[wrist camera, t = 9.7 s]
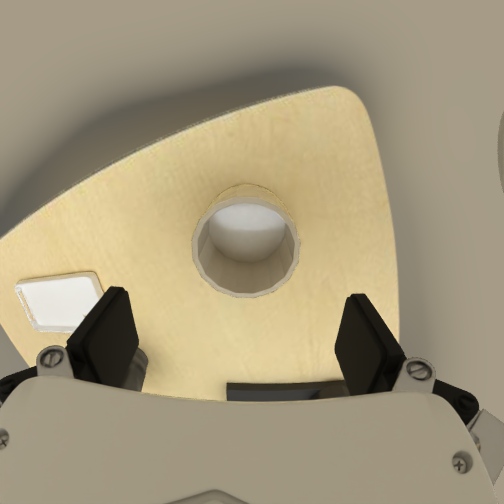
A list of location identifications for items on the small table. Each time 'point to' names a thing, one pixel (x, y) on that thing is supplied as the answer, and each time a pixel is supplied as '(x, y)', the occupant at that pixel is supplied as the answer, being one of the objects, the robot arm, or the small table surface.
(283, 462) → the robot arm
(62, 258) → the small table surface
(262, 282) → the beige cup
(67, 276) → the phone case
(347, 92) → the small table surface
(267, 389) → the scale
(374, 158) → the small table surface
